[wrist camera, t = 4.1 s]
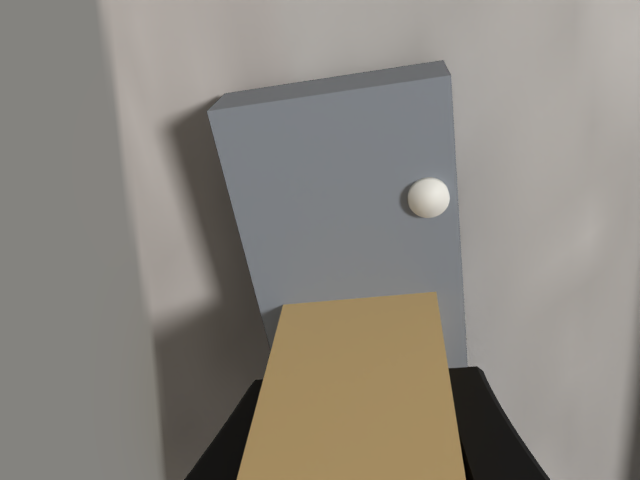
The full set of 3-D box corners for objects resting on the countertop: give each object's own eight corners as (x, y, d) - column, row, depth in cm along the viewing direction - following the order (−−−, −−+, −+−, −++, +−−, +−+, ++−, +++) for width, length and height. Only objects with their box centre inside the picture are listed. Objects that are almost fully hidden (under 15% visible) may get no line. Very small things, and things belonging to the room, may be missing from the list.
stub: (443, 60, 10) (523, 217, 4) (471, 507, 15) (522, 824, 10) (224, 93, 10) (50, 267, 5) (327, 510, 16) (300, 809, 10)
